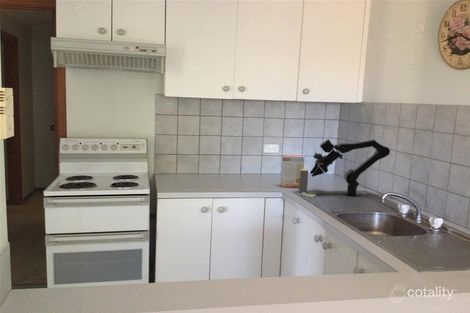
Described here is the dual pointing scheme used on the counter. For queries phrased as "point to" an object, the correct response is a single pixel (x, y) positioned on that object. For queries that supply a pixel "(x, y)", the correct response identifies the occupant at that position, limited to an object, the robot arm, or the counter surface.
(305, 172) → the chute block
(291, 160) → the cracker box
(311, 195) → the green floppy disk
